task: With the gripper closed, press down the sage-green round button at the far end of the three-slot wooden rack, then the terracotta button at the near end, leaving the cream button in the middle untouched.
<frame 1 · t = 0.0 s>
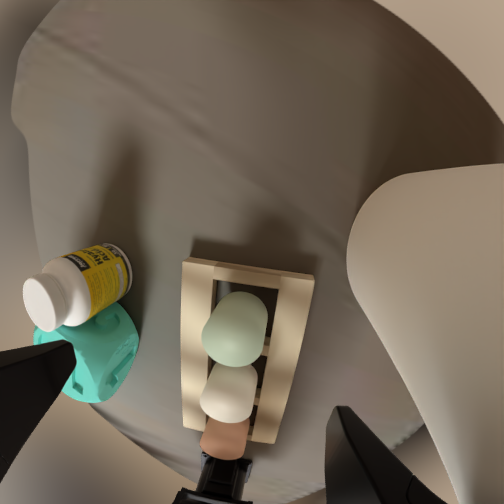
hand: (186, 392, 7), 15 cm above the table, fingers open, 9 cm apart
button cream: (230, 390, 20), point 4 cm above the table, slide at 0.0 cm
button sage: (237, 327, 19), point 4 cm above the table, slide at 0.0 cm
turquoise rounded piece: (108, 327, 25), on the table
canister: (419, 254, 20), on the table
button terracotta: (225, 433, 21), point 4 cm above the table, slide at 0.0 cm
supplement bottle: (112, 269, 24), on the table
three-slot wooden rack: (238, 364, 24), on the table
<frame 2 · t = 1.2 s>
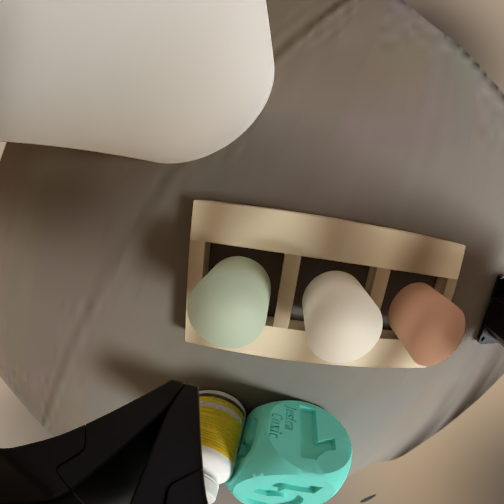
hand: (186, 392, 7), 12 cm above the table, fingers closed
button cream: (338, 314, 15), point 4 cm above the table, slide at 0.0 cm
button sage: (233, 299, 15), point 4 cm above the table, slide at 0.0 cm
turquoise rounded piece: (287, 425, 22), on the table
canister: (181, 77, 16), on the table
button terracotta: (425, 322, 14), point 4 cm above the table, slide at 0.0 cm
supplement bottle: (217, 407, 22), on the table
three-slot wooden rack: (329, 291, 18), on the table
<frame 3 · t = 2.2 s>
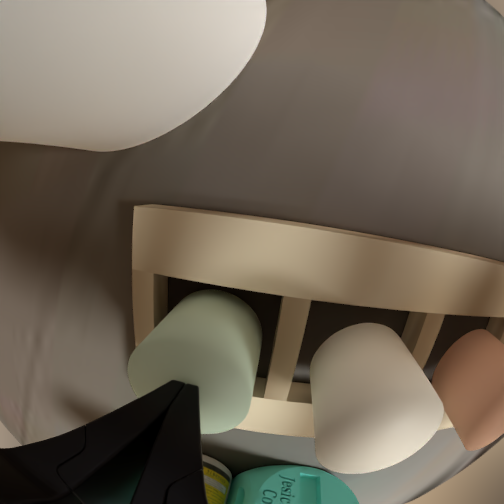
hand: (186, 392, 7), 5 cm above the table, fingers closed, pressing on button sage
button cream: (369, 398, 8), point 4 cm above the table, slide at 0.0 cm
button sage: (202, 358, 9), point 3 cm above the table, slide at 1.1 cm, touching gripper
turquoise rounded piece: (284, 485, 15), on the table
canister: (135, 33, 10), on the table
button terracotta: (483, 388, 7), point 4 cm above the table, slide at 0.0 cm
supplement bottle: (197, 465, 15), on the table
three-slot wooden rack: (350, 344, 11), on the table
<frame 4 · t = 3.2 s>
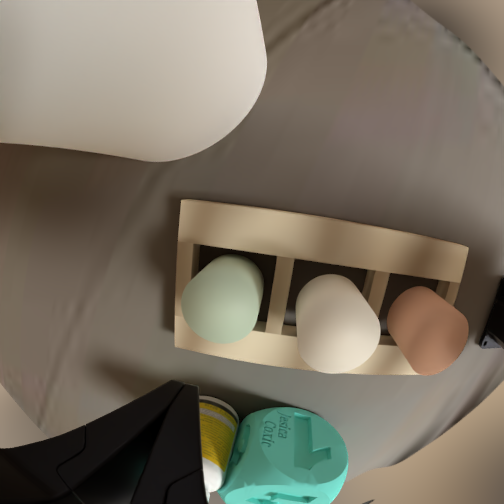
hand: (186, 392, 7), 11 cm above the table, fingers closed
button cream: (333, 321, 14), point 4 cm above the table, slide at 0.0 cm
button sage: (226, 295, 15), point 2 cm above the table, slide at 1.3 cm
turquoise rounded piece: (282, 432, 21), on the table
canister: (171, 73, 16), on the table
button terracotta: (426, 328, 13), point 4 cm above the table, slide at 0.0 cm
supplement bottle: (210, 413, 21), on the table
three-slot wooden rack: (324, 295, 17), on the table
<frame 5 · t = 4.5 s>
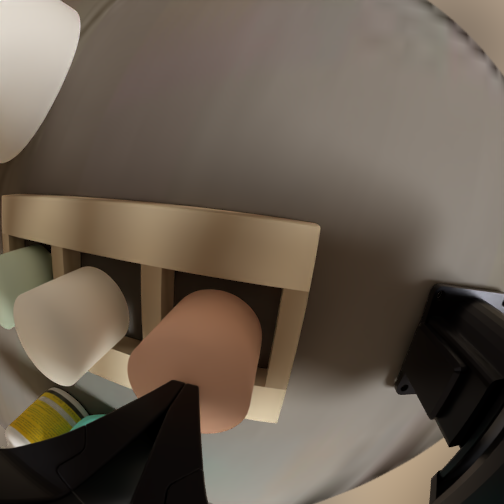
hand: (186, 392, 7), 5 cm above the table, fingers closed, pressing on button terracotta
button cream: (71, 322, 10), point 4 cm above the table, slide at 0.0 cm
button sage: (19, 284, 11), point 2 cm above the table, slide at 1.3 cm
canister: (21, 80, 11), on the table
button terracotta: (202, 358, 9), point 3 cm above the table, slide at 0.3 cm, touching gripper
supplement bottle: (72, 408, 17), on the table
three-slot wooden rack: (115, 294, 13), on the table
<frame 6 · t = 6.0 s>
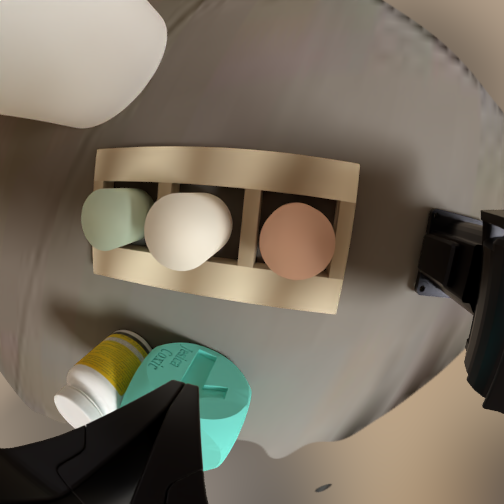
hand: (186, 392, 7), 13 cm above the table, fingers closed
button cream: (191, 227, 15), point 4 cm above the table, slide at 0.0 cm
button sage: (119, 216, 17), point 2 cm above the table, slide at 1.3 cm
turquoise rounded piece: (200, 378, 23), on the table
canister: (103, 62, 18), on the table
button terracotta: (296, 237, 16), point 2 cm above the table, slide at 1.3 cm
supplement bottle: (133, 352, 23), on the table
three-slot wooden rack: (209, 221, 19), on the table
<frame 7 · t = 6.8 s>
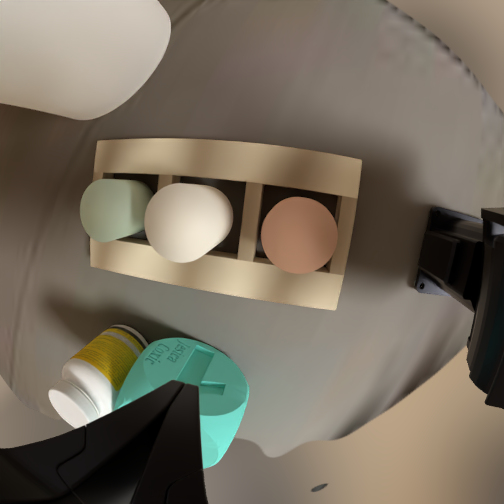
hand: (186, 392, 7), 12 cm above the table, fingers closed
button cream: (191, 219, 15), point 4 cm above the table, slide at 0.0 cm
button sage: (118, 208, 17), point 2 cm above the table, slide at 1.3 cm
turquoise rounded piece: (196, 375, 22), on the table
canister: (106, 55, 17), on the table
button terracotta: (298, 231, 16), point 2 cm above the table, slide at 1.3 cm
supplement bottle: (129, 347, 23), on the table
three-slot wooden rack: (210, 214, 19), on the table
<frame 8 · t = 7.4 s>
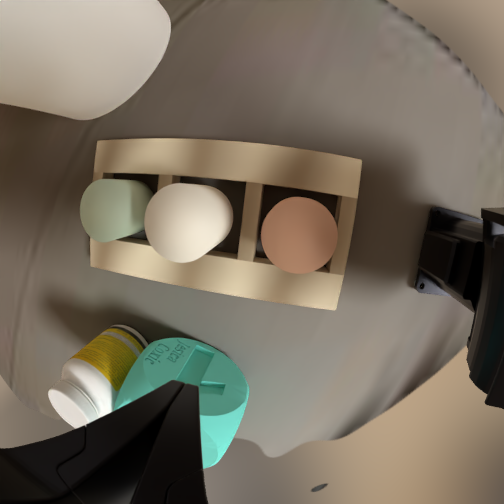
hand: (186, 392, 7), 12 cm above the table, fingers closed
button cream: (191, 219, 15), point 4 cm above the table, slide at 0.0 cm
button sage: (118, 208, 17), point 2 cm above the table, slide at 1.3 cm
turquoise rounded piece: (196, 375, 22), on the table
canister: (106, 55, 17), on the table
button terracotta: (298, 231, 16), point 2 cm above the table, slide at 1.3 cm
supplement bottle: (129, 347, 23), on the table
three-slot wooden rack: (210, 214, 19), on the table
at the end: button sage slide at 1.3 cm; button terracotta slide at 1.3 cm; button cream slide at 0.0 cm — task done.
